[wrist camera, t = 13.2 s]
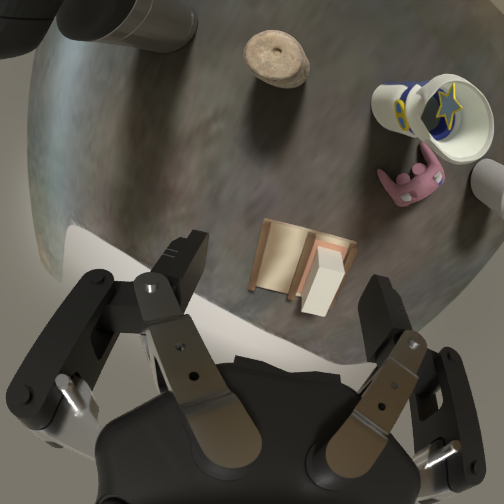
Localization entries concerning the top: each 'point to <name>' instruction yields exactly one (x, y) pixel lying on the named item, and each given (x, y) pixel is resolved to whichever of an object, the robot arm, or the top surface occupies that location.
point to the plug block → (322, 281)
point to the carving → (276, 59)
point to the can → (489, 184)
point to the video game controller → (415, 180)
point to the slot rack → (293, 257)
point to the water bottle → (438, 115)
